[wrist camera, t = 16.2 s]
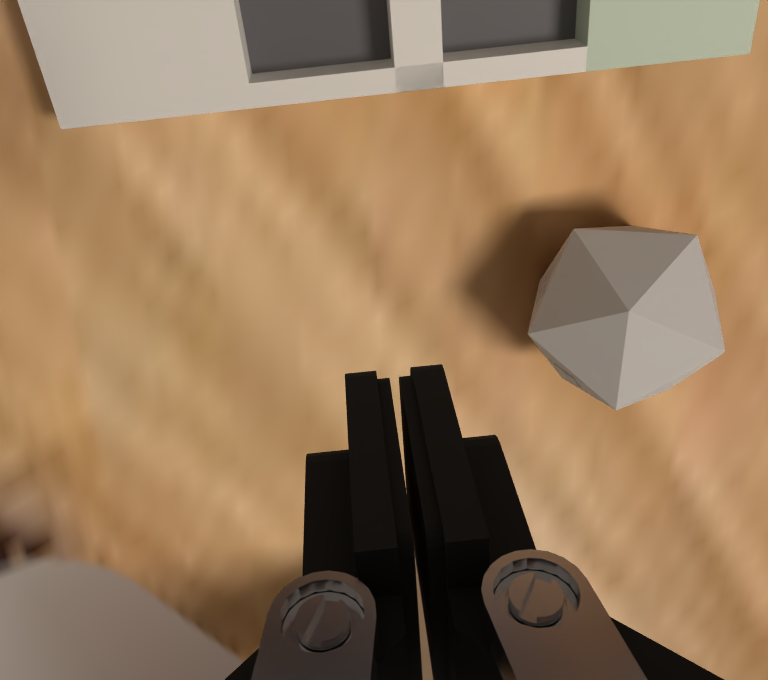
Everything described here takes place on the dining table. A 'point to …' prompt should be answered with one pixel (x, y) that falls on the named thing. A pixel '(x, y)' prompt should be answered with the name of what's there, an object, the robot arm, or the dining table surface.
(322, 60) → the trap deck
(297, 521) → the dining table surface
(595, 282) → the die
